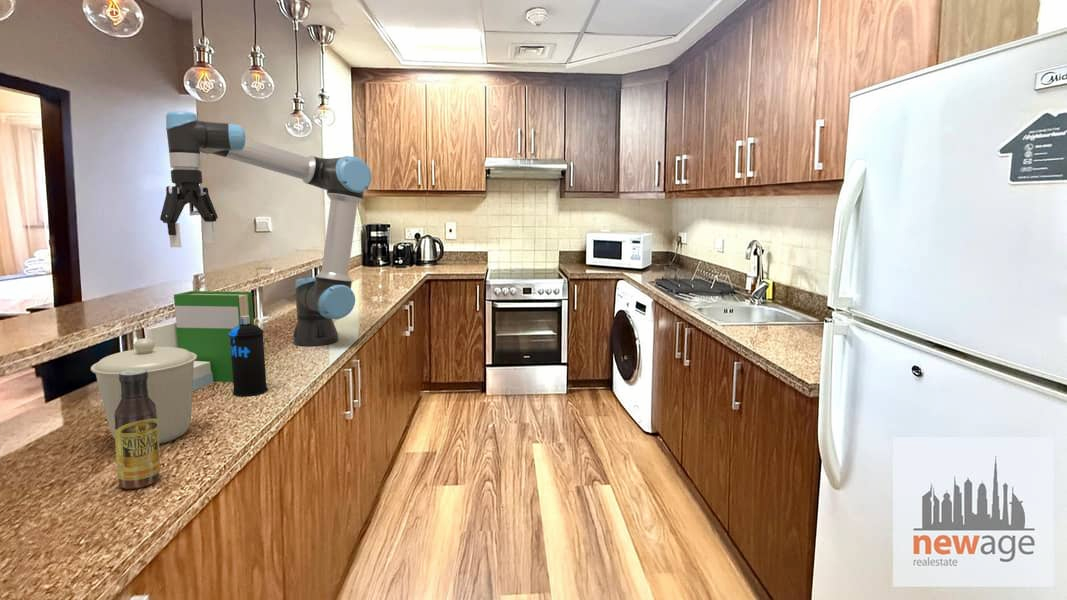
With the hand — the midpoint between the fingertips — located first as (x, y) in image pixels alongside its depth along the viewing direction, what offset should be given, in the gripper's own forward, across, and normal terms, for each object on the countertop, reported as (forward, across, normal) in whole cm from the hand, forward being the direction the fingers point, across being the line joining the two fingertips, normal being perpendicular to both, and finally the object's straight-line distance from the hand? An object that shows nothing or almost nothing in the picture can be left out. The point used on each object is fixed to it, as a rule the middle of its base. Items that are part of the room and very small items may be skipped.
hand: (193, 245), depth 169 cm
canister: (+36, +49, +24) cm, 66 cm away
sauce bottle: (+36, +68, +38) cm, 86 cm away
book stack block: (+36, +16, +6) cm, 40 cm away
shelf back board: (+36, +9, 0) cm, 38 cm away
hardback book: (+37, +7, +10) cm, 39 cm away
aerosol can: (+37, +18, +26) cm, 48 cm away
